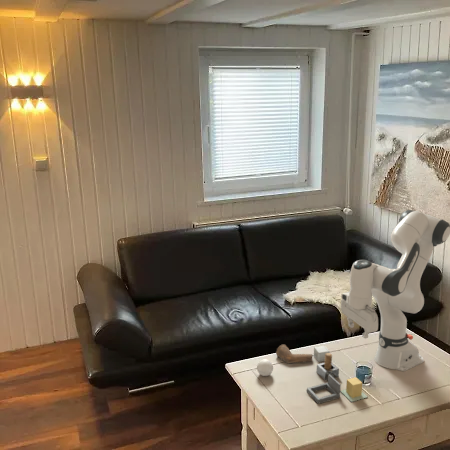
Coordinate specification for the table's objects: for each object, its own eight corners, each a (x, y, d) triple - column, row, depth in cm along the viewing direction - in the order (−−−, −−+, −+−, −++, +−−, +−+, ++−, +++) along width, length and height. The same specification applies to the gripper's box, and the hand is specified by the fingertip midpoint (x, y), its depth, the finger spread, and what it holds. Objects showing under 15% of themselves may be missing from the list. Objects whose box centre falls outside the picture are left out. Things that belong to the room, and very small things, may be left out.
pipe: (315, 354, 238) (309, 341, 247) (279, 357, 237) (275, 343, 245) (313, 365, 241) (308, 351, 250) (278, 368, 239) (274, 354, 248)
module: (355, 389, 219) (355, 377, 218) (361, 395, 215) (362, 382, 214) (346, 391, 218) (346, 379, 216) (352, 397, 214) (353, 385, 212)
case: (328, 385, 223) (329, 373, 221) (340, 397, 215) (341, 384, 213) (306, 391, 219) (307, 379, 217) (318, 403, 211) (318, 391, 209)
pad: (356, 387, 222) (356, 386, 221) (367, 397, 214) (367, 396, 214) (340, 391, 219) (340, 390, 219) (351, 402, 212) (351, 401, 212)
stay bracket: (329, 368, 235) (330, 361, 234) (338, 376, 229) (338, 368, 228) (316, 372, 233) (316, 364, 232) (324, 380, 227) (325, 372, 226)
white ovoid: (269, 369, 236) (269, 354, 234) (275, 377, 229) (275, 363, 227) (248, 372, 233) (248, 358, 231) (254, 381, 227) (254, 367, 224)
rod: (328, 372, 233) (329, 352, 230) (332, 375, 230) (333, 355, 227) (322, 373, 232) (323, 353, 229) (326, 377, 229) (327, 357, 226)
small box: (329, 360, 242) (330, 351, 241) (318, 362, 241) (318, 352, 240) (324, 354, 248) (324, 345, 246) (313, 355, 246) (313, 346, 245)
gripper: (383, 310, 196) (380, 342, 200) (351, 289, 214) (349, 320, 218) (369, 313, 194) (367, 345, 198) (338, 292, 212) (337, 322, 216)
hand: (357, 332), depth 208 cm, fingers open, 8 cm apart
